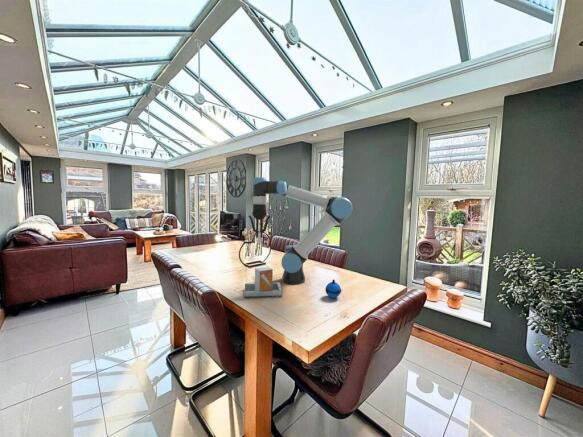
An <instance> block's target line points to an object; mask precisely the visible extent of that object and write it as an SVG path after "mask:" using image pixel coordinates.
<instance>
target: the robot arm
mask: <svg viewBox="0 0 583 437" xmlns="http://www.w3.org/2000/svg"><path fill="white" fill-rule="evenodd" d="M252 182H253V184H252V188H253V189H252V191H253V196H252V200H253V201H252V203H253V204H252V213H251V214H249V215H248V218H249V220H250V223H251V228H252V231H253V232H255V238H256V239H257V244H261V241H262V239H263V237H264V236H263V233H264V232H266V230H267V228H268V227H267V226H268V223H269V219H270V218H271V216H270V214H268V213H267V195H280V196H283V197H286V198H289V199H293V200H296V201H299V202H302V203H306V204H307V205H312V206H315V207H318V208H321V209H323V210H324V215H323V216H322V217H321V218H320V220H318V222H316V224H315V225H314V226H313V227H311V229H310V230H309V232H308V233H306V235H304V237H303V238H302V239H301V240H300V241H299V242H298V243H297V244H292V245H286V246H285V250H284V251H285V253H284V255H283V256H282V258H281V267H282V269H283V273H282V276H281V282H283V283H285V284H287V285H288V284H289V285H301V284H303V283H305V282H306V275H305V272H304V263H306V262H307V260H308V258H309V254H311V252H312V251H313V250H314V249H315V248H316V247H317V246H318V245H319V244H320V243H321V242H322V240H323V239H325V237H327V235H328V234H329V233H330V232H331V231H332V230H333V229H334V227H335V226H337V225H339V226H340V225H341V224H342V223H343V221H345V220H346V219H348V218H349V217H350V216H351V215H352V213H353V208H354V207H353V204H352V202H351V201H350V200H349V199H348V198H346V197H343V196H341V197H336V196H335V197H334V196H331V195H328V196H325V195H323V194H319V193H315V192H313V191H310V190H306V189H303V188H300V187H297V186H293V185H290V184H287V182H286V181H283V180H274V181H273V180H271V181H270V180H267V178H266V177H262V176H260V177H258V176H256V177H254V178H253V181H252ZM253 218H255V222H254V219H253ZM264 219H265V222H264ZM259 221H260V222H259ZM259 223H260V224H259ZM259 226H260V227H259ZM259 228H260V229H259Z"/></svg>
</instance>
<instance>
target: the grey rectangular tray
mask: <svg viewBox="0 0 583 437" xmlns="http://www.w3.org/2000/svg"><path fill="white" fill-rule="evenodd" d="M243 293H244V294H243V295H244V298H243V299H263V298H264V299H266V298H267V299H268V298H282V296H283V289H282V286H281V283H280V282H279V281H278V282H272V291H255V282H253V283H251V282H250V283H244V291H243Z"/></svg>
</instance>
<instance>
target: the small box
mask: <svg viewBox="0 0 583 437" xmlns="http://www.w3.org/2000/svg"><path fill="white" fill-rule="evenodd" d="M273 271H274V270H273V269H272V268H271V267H270V266H262V267H256V268H254V283H255V291H272V283H273V276H274V275H273Z"/></svg>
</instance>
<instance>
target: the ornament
mask: <svg viewBox="0 0 583 437" xmlns="http://www.w3.org/2000/svg"><path fill="white" fill-rule="evenodd" d="M325 292H326V294H327V295H326V296H328V297H329V298H332V299H335V298H338V297H339V296H340V295H341V293H342V288H341V285H340V284H339V283H337V282H336V280H335V279H332V281H331V282H328V283H327V285H326V287H325Z"/></svg>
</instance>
